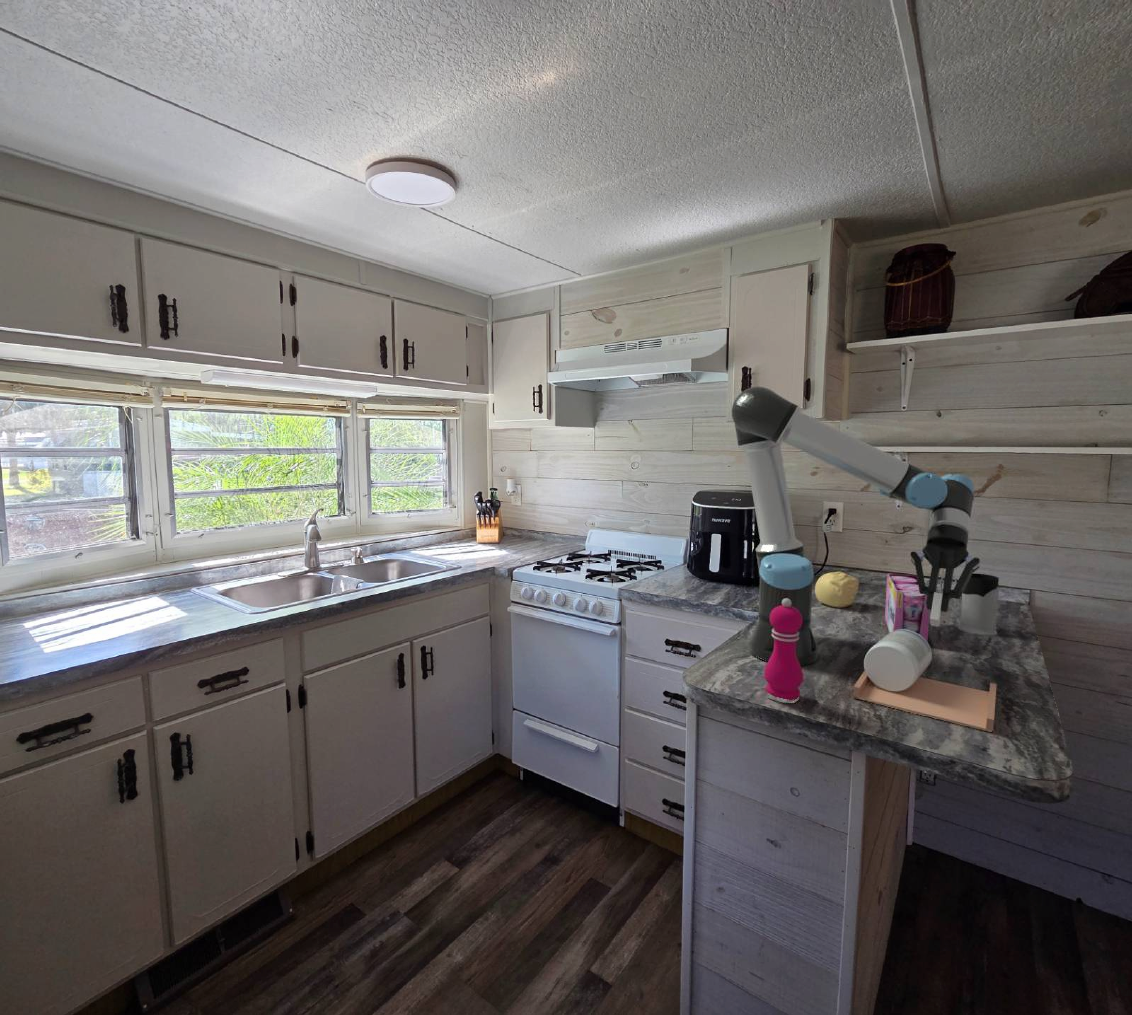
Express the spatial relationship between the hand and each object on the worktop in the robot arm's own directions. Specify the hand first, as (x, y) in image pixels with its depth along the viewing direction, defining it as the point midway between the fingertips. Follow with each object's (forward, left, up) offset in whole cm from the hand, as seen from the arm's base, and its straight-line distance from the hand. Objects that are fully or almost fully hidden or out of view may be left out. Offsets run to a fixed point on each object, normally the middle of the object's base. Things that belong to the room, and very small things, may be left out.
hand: (934, 622), depth 116 cm
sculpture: (+17, +60, -14) cm, 64 cm away
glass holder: (+39, +34, -14) cm, 54 cm away
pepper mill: (-34, -1, -14) cm, 36 cm away
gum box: (+20, +33, -14) cm, 41 cm away
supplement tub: (0, +6, -8) cm, 10 cm away
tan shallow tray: (-6, -5, -13) cm, 15 cm away
